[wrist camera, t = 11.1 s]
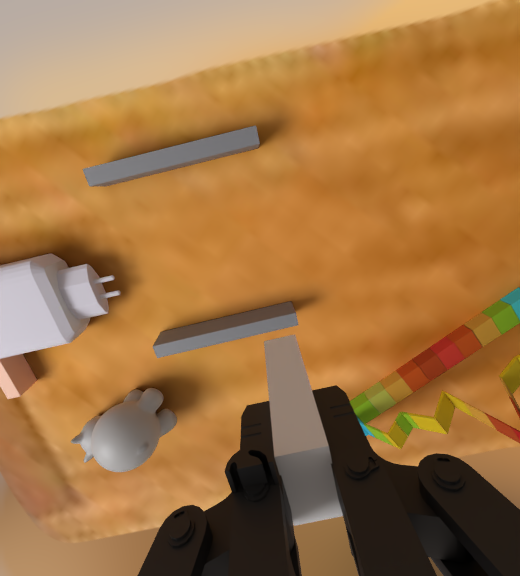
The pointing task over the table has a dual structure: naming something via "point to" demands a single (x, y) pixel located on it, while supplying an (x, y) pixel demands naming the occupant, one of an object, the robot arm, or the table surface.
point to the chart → (433, 364)
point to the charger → (47, 303)
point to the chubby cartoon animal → (127, 431)
